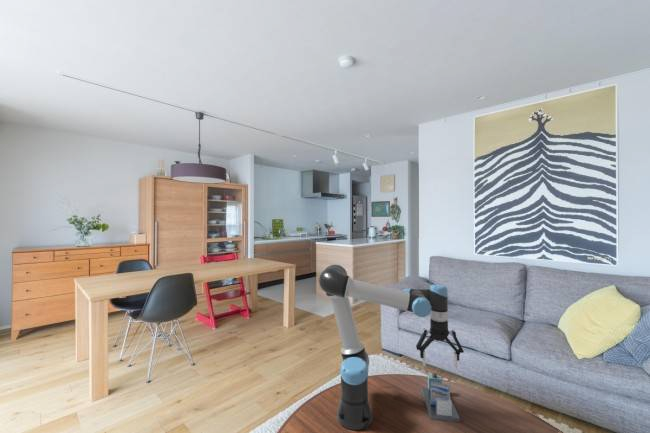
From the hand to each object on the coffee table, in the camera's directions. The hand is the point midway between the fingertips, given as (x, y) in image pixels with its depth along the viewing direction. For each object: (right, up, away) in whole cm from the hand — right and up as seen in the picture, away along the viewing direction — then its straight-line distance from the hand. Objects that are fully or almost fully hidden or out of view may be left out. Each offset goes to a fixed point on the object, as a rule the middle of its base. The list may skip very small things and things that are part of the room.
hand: (439, 366), depth 132 cm
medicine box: (0, -17, 0) cm, 17 cm away
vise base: (0, -19, +2) cm, 19 cm away
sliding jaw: (+2, -17, +11) cm, 20 cm away
